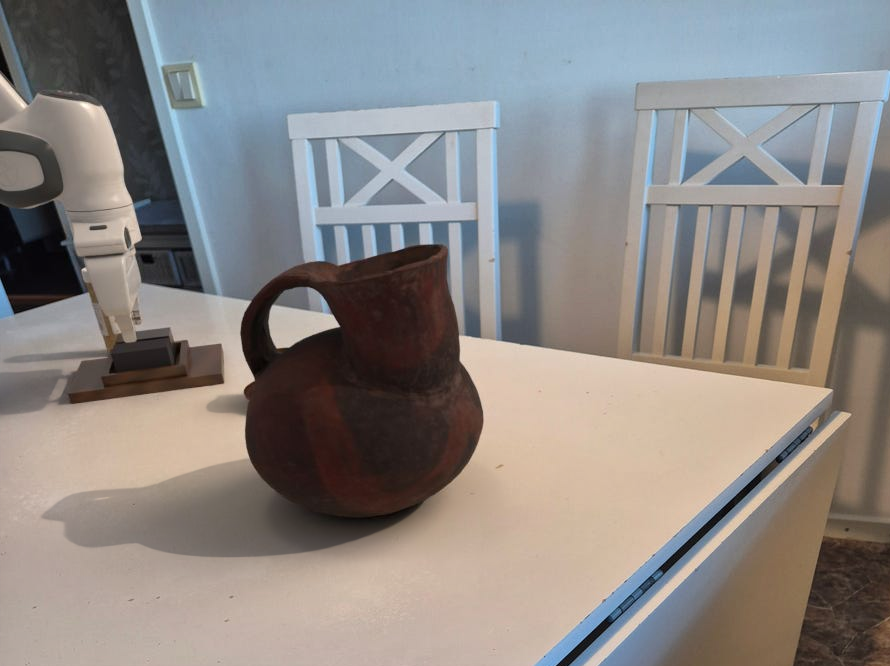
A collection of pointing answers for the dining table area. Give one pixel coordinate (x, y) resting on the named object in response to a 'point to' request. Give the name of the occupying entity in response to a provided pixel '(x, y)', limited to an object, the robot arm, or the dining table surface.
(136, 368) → the pad
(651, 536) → the dining table surface
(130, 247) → the robot arm
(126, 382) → the brown stepped wooden stand
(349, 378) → the jug
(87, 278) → the sprinkles bottle
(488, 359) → the dining table surface
